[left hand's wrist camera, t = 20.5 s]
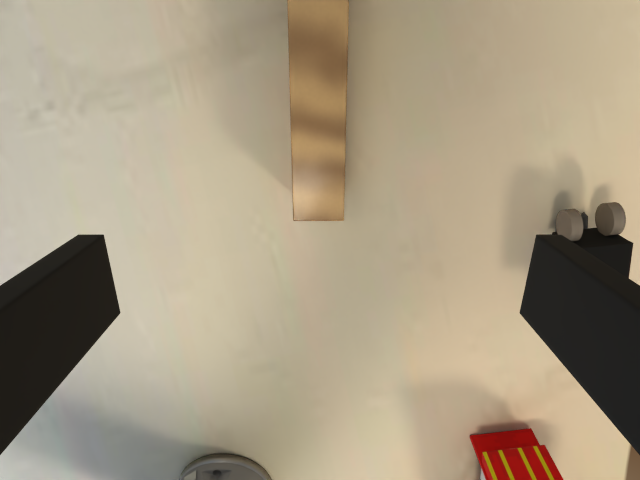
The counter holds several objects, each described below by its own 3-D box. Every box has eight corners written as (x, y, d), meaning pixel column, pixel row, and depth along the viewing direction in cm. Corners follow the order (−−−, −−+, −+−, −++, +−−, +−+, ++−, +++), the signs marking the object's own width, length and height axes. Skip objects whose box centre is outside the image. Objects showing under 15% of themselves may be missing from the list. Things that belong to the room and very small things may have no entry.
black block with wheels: (535, 202, 49) (536, 314, 53) (572, 215, 42) (570, 343, 46) (592, 194, 49) (589, 307, 53) (638, 206, 42) (631, 336, 46)
